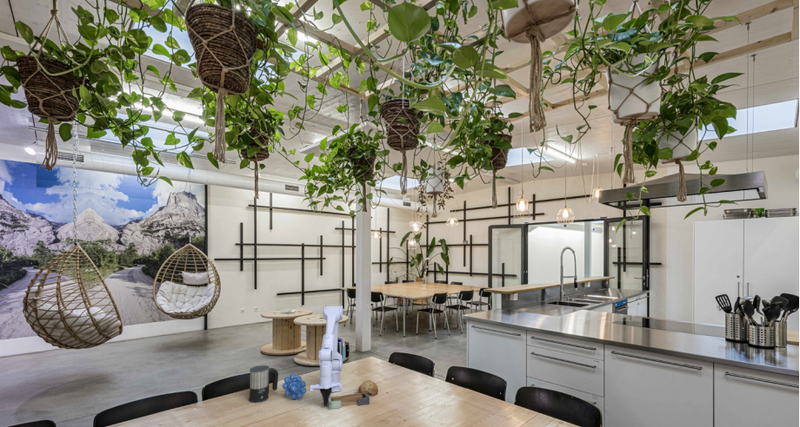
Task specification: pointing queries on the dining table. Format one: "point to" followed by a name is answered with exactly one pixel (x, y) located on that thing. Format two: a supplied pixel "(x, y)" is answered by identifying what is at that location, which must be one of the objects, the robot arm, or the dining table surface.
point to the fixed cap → (363, 399)
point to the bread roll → (368, 388)
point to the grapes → (294, 386)
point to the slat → (348, 399)
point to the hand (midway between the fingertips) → (325, 404)
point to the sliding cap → (333, 403)
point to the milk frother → (261, 382)
